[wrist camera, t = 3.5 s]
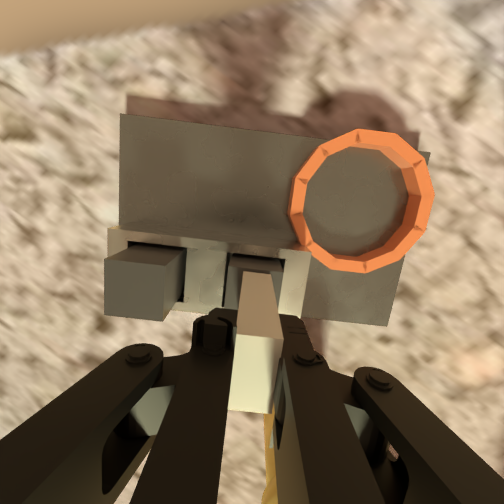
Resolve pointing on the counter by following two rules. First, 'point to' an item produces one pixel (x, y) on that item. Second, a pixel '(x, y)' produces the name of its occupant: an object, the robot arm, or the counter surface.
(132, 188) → the breaker panel
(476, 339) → the counter surface
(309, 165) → the orange ring
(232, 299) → the block
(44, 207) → the counter surface
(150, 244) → the block
